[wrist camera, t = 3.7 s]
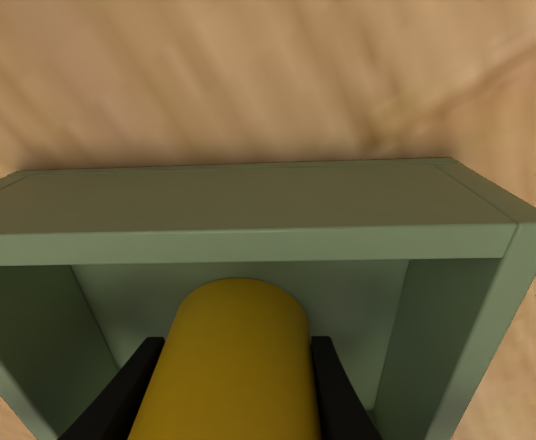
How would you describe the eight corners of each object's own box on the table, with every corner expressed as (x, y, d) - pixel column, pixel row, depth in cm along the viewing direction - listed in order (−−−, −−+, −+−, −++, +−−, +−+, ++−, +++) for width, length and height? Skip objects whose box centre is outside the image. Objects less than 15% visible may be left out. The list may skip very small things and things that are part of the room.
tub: (451, 156, 9) (565, 223, 5) (383, 408, 15) (414, 511, 12) (16, 170, 9) (-136, 238, 6) (131, 407, 16) (90, 504, 13)
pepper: (310, 275, 11) (356, 576, 4) (307, 369, 13) (332, 638, 7) (163, 277, 11) (16, 566, 5) (188, 369, 13) (115, 629, 7)
